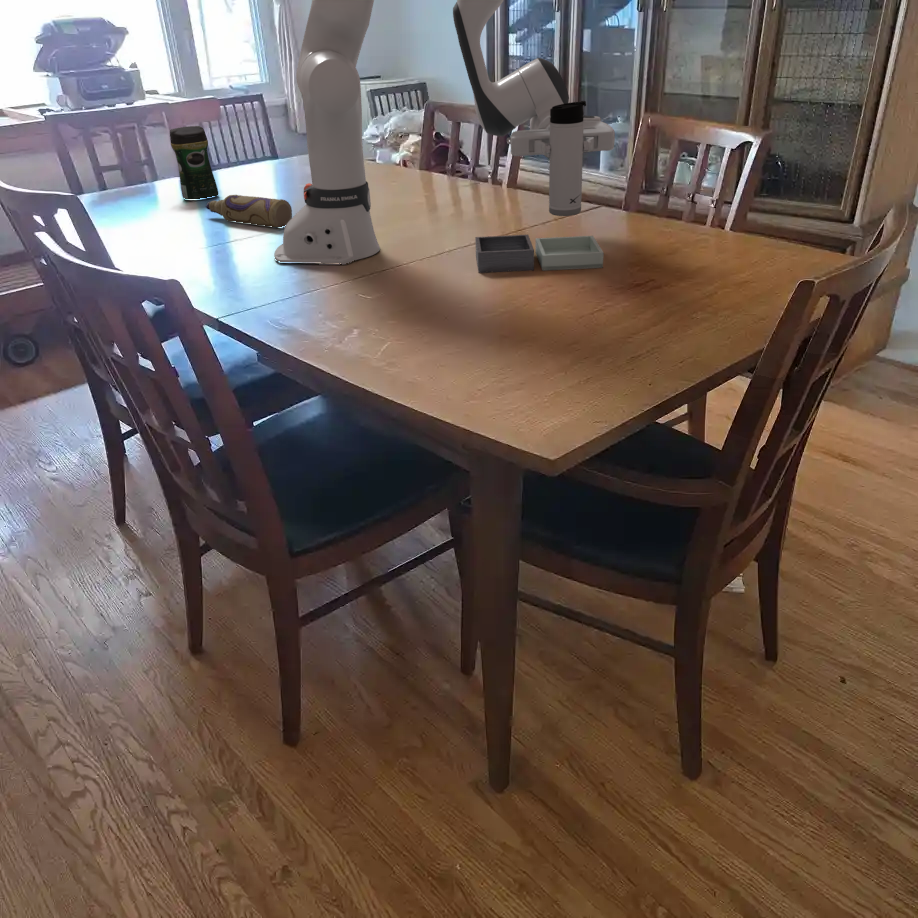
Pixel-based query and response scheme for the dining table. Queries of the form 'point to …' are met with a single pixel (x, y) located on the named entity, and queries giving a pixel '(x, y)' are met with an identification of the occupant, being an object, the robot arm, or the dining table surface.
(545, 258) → the tray
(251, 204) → the decorative bottle
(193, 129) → the coffee jar
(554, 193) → the travel mug
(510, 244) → the collar
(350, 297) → the dining table surface
